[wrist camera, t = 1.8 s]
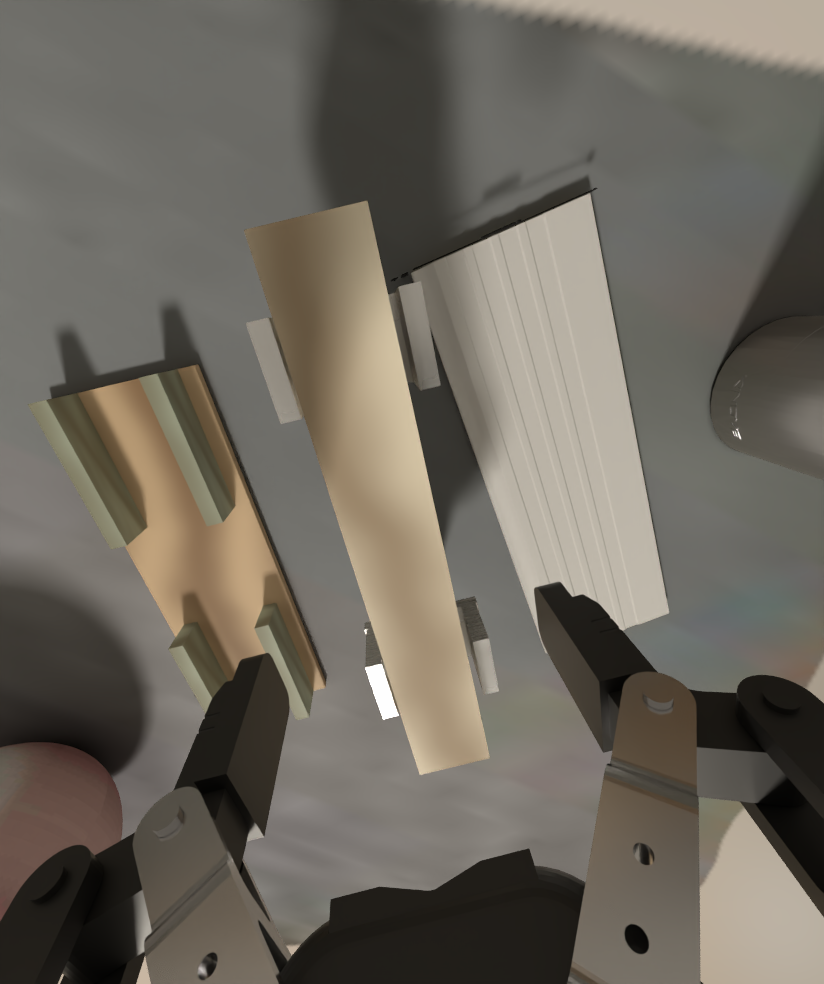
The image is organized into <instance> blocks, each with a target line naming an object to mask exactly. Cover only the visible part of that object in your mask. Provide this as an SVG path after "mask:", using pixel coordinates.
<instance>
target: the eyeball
mask: <svg viewBox="0 0 824 984" xmlns="http://www.w3.org/2000/svg"><path fill="white" fill-rule="evenodd" d="M122 822H123V819H122V806H121V801H120V797H119V793H118V790H117V788H116V785H115V783H114V781H113V779H112V777H111V776H110V774H109V773H108V771H107V770H106V769H105V768H104V766H103V765H102V764H100V763H99V762H98V761H97V760H96V759H95V758H93V757H92V756H91V755H89V754H87V753H85V752H84V751H81V750H79V749H77V748H74V747H71V746H67V745H63V744H58V743H48V742H30V743H21V744H14V745H8V746H4V747H0V921H1V919H2V918H3V916H4V914H5V912H6V911H7V909H8V907H9V905H10V904H11V902H12V900H13V899H14V897H15V895H16V894H17V892H18V891H19V889H20V888H21V886H22V885H23V884H24V882H25V881H26V880H27V879H28V878H29V877H30V875H31V874H32V873H33V872H34V871H35V870H36V869H37V868H38V867H39V866H40V865H42V864H43V863H44V862H45V861H46V860H48V859H49V858H50V857H52V856H53V855H55V854H56V853H58V852H59V851H61V850H63V849H65V848H68V847H70V846H74V845H84V846H86V847H87V848H88V849H89V850H90V851H91V852H92V853H93V854H94V855H96V854H98V853H100V852H102V851H103V850H105V849H107V848H109V847H110V846H112V845H114V844H116V843H118V842H119V841H121V836H122Z"/></svg>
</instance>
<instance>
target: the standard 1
mask: <svg viewBox="0 0 824 984" xmlns="http://www.w3.org/2000/svg"><path fill="white" fill-rule="evenodd" d="M388 297H389V301H390V306H391V310H392V315H393V320H394V324H395V329H396V333H397V338H398V342H399V347H400V351H401V356H402V361H403V365H404V370H405V374H406V379H407V383H410V382H414V383H415V385H416V386H417V387H418V388H419V390H424V389H428V388H433V387H437V386H441V384H440V379H439V374H438V368H437V363H436V358H435V352H434V347H433V342H432V337H431V331H430V326H429V321H428V316H427V310H426V305H425V300H424V295H423V289H422V284H421V281H420V282H416V283H411V284H407V285H403V286H399V287H398V288H397V290H396V291H395V293H392V294H388ZM246 325H247V328H248V331H249V334H250V337H251V340H252V343H253V346H254V348H255V351H256V354H257V357H258V360H259V363H260V366H261V369H262V372H263V374H264V377H265V380H266V383H267V386H268V389H269V392H270V395H271V397H272V400H273V403H274V406H275V409H276V412H277V415H278V418H279V420H280V423H281V424H282V423H286V422H291V421H295V420H299V419H302V417H303V416H304V414H303V411H302V408H301V405H300V402H299V399H298V396H297V393H296V389H295V386H294V383H293V380H292V377H291V374H290V371H289V368H288V365H287V362H286V359H285V355H284V352H283V349H282V346H281V343H280V340H279V337H278V334H277V331H276V328H275V324H274V321H273V318H265V319H261V320H256V321H252V322H248V323H246Z"/></svg>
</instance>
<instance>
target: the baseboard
mask: <svg viewBox="0 0 824 984" xmlns="http://www.w3.org/2000/svg"><path fill="white" fill-rule="evenodd" d="M596 189H597V188H594V189H593V190H591V191H588V192H586V193H589V194H587V195H585V196H582V195H584V194H586V193H584V194H582V195H579V196H577V197H580V196H582V197H580V198H578V199H575V198H577V197H575V198H573V199H575V200H573V199H570V200H573V201H571V202H569V203H566V202H568V201H570V200H568V201H566V202H564V203H566V204H564V203H561V204H564V205H562V206H560V207H557V206H559V205H561V204H559V205H557V206H554V207H552V208H555V207H557V208H555V209H553V210H551V211H548V210H550V209H552V208H550V209H548V210H545V211H543V212H546V211H548V212H546V213H544V214H542V215H540V216H537V215H539V214H541V213H543V212H541V213H539V214H536V215H534V216H537V217H535V218H533V219H531V220H528V219H530V218H532V217H534V216H532V217H530V218H527V219H525V220H528V221H526V222H523V221H525V220H523V221H521V220H518V221H517V222H514V223H511V224H509V225H507V226H505V227H503V228H500V229H498V230H496V231H494V232H492V233H489V234H487V235H485V236H483V237H481V238H482V239H485V238H487V237H489V236H491V235H494V234H496V233H498V232H500V231H503V230H505V229H507V228H509V227H512V226H514V225H516V224H518V223H521V222H523V223H521V224H519V225H517V226H515V227H512V228H510V229H508V230H506V231H503V232H501V233H499V234H496V235H494V236H492V237H490V238H488V239H485V240H483V241H481V242H478V241H480V240H482V239H480V240H478V241H475V242H478V243H476V244H474V245H472V246H469V245H471V244H473V243H475V242H473V243H471V244H468V245H466V246H469V247H467V248H465V249H462V248H464V247H466V246H464V247H462V248H459V249H457V250H460V249H462V250H460V251H458V252H456V253H454V254H451V253H453V252H455V251H457V250H455V251H453V252H450V253H448V254H451V255H449V256H447V257H444V256H446V255H448V254H446V255H444V256H441V257H439V258H442V257H444V258H442V259H440V260H437V259H439V258H437V259H435V260H437V261H435V260H432V261H435V262H433V263H431V264H429V265H427V266H425V267H423V268H421V269H419V270H417V271H414V272H412V273H411V276H412V279H413V282H414V283H416V282H420V281H421V284H422V289H423V295H424V300H425V305H426V310H427V316H428V321H429V326H430V330H431V333H432V335H433V338H434V341H435V344H436V347H437V349H438V352H439V355H440V358H441V361H442V364H443V366H444V369H445V372H446V375H447V378H448V380H449V383H450V386H451V389H452V392H453V394H454V397H455V400H456V403H457V406H458V408H459V411H460V414H461V417H462V420H463V423H464V425H465V428H466V431H467V434H468V437H469V439H470V442H471V445H472V448H473V451H474V453H475V456H476V459H477V462H478V465H479V468H480V470H481V473H482V476H483V479H484V482H485V484H486V487H487V490H488V493H489V496H490V498H491V501H492V504H493V507H494V510H495V513H496V515H497V518H498V521H499V524H500V527H501V529H502V532H503V535H504V538H505V541H506V543H507V546H508V549H509V552H510V555H511V557H512V560H513V563H514V566H515V569H516V572H517V574H518V577H519V580H520V583H521V586H522V588H523V591H524V594H525V597H526V600H527V602H528V605H529V608H530V611H531V614H532V617H533V619H534V622H535V625H536V628H537V631H538V633H539V628H538V620H537V612H536V604H535V597H534V588H535V587H539V586H543V585H547V584H551V583H555V582H561V583H562V584H563V586H564V587H565V588H566V589H567V591H568V592H569V593H570V595H571V596H572V597H574V596H578V595H582V594H583V595H585V596H587V597H589V598H590V599H592V600H594V601H596V602H597V603H599V604H600V605H601V606H602V607H603V609H604V610H605V611H606V612H607V613H608V615H609V616H610V618H611V619H613V620H614V622H615V623H616V624H617V625H618V626H619V629H620V630H622V631H623V630H625V629H626V628H628V627H631V626H633V625H636V624H641V623H644V622H647V621H649V620H652V619H655V618H657V617H660V616H663V615H665V614H668V613H669V610H668V604H667V599H666V594H665V588H664V583H663V578H662V573H661V567H660V562H659V557H658V551H657V546H656V541H655V535H654V530H653V525H652V519H651V514H650V509H649V504H648V498H647V493H646V488H645V482H644V477H643V472H642V466H641V461H640V456H639V450H638V445H637V440H636V434H635V429H634V424H633V419H632V413H631V408H630V403H629V397H628V392H627V387H626V381H625V376H624V371H623V365H622V360H621V355H620V350H619V344H618V339H617V334H616V328H615V323H614V318H613V312H612V307H611V302H610V296H609V291H608V286H607V280H606V275H605V270H604V265H603V259H602V254H601V249H600V243H599V238H598V233H597V227H596V222H595V217H594V211H593V206H592V201H591V195H590V192H592V191H594V190H596ZM432 261H430V262H432ZM430 262H428V263H430ZM428 263H426V264H428ZM426 264H423V265H426ZM423 265H421V266H423ZM421 266H418V267H416V268H414V269H413V270H415V269H418V268H419V267H421ZM406 275H408V272H407V273H405V274H402V276H401V278H402V277H404V276H406ZM397 278H398V277H397ZM397 278H394V279H393V280H394V281H395V279H397ZM393 280H391V281H393ZM539 636H540V633H539ZM540 639H541V636H540ZM541 642H542V639H541ZM542 645H543V642H542ZM543 647H544V645H543ZM544 650H545V652H546V653H547V651H546V649H545V647H544Z"/></svg>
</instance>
